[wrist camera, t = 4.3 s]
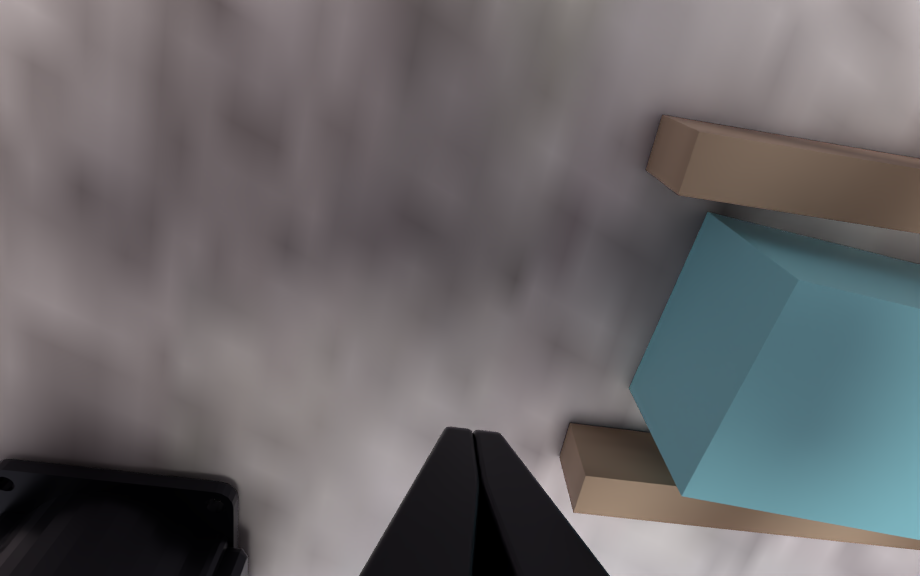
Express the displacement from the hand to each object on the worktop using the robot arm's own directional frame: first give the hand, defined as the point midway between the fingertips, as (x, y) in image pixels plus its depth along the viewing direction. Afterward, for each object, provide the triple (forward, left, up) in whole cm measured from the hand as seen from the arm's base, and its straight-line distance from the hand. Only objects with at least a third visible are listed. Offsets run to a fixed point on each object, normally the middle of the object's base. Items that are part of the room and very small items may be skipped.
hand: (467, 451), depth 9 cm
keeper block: (+9, 0, -6) cm, 10 cm away
